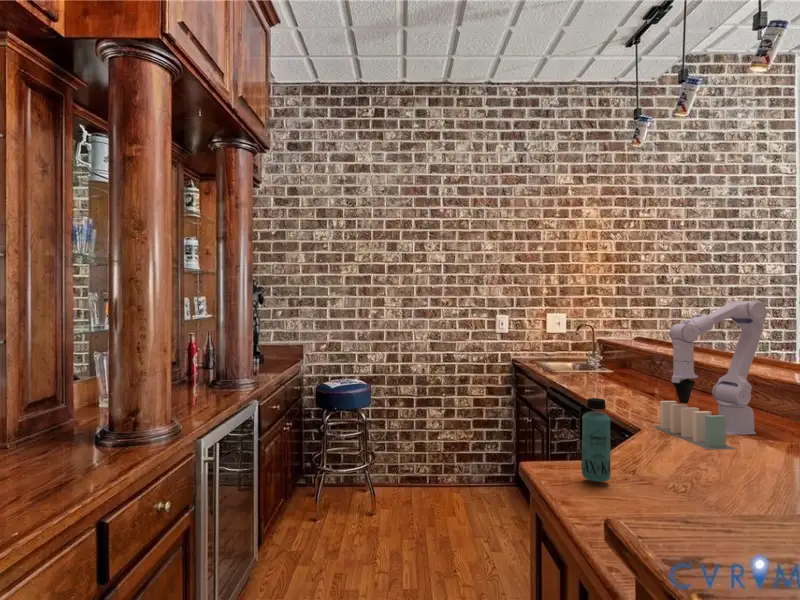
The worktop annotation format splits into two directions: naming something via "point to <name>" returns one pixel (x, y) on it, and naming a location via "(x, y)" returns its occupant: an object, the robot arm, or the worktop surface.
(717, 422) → the teal domino
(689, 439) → the mat
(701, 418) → the ivory domino
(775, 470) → the worktop surface
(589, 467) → the beverage bottle
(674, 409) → the ivory domino
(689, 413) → the ivory domino
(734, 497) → the worktop surface
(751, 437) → the worktop surface
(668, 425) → the ivory domino
